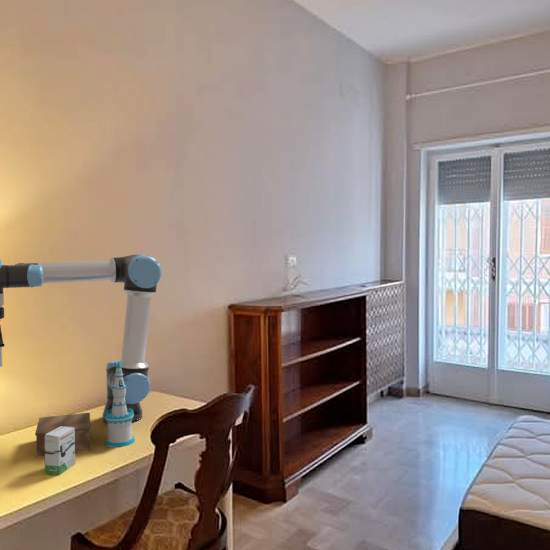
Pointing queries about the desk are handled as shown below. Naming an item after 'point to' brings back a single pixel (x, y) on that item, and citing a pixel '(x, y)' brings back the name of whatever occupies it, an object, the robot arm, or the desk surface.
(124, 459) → the desk surface
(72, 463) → the ink box
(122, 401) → the model tower
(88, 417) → the walnut block
